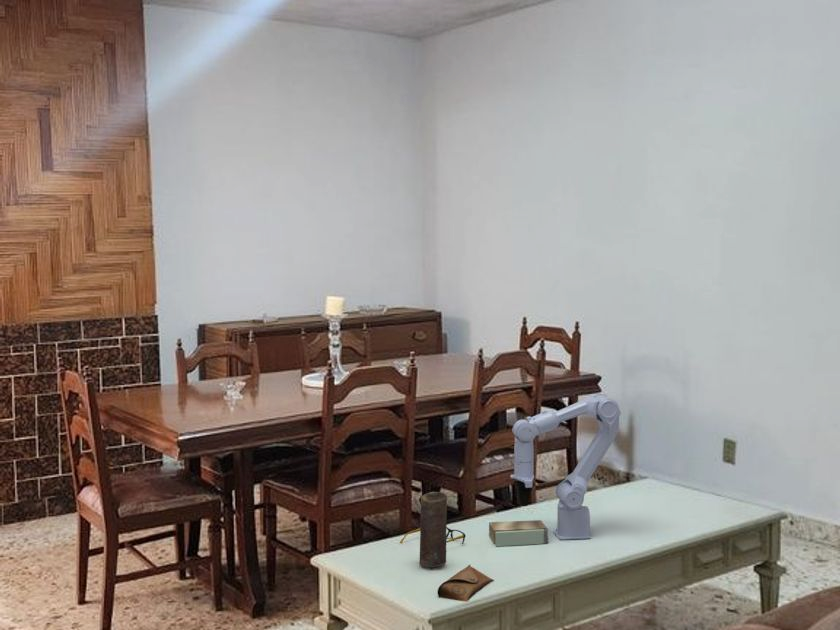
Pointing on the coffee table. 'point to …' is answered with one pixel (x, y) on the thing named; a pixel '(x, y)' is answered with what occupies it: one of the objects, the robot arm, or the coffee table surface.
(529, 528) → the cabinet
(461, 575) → the sunglasses case
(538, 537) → the sage green panel
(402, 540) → the eyeglasses
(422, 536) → the candle
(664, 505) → the coffee table surface
